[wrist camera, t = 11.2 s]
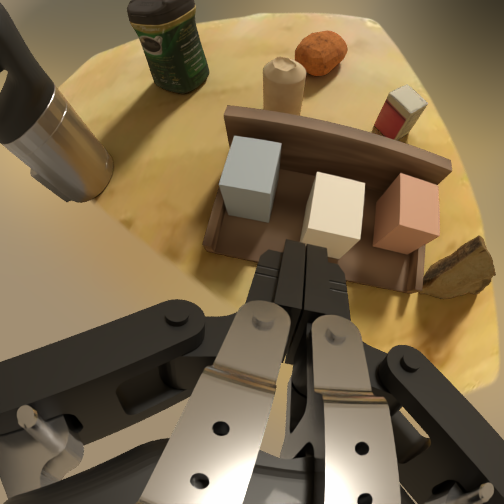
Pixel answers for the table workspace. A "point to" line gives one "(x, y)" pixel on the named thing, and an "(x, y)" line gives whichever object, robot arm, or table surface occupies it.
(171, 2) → the coffee jar
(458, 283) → the rock
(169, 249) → the table surface
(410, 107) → the small box
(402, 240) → the key terracotta
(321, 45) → the potato
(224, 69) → the table surface
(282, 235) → the tray
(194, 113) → the table surface
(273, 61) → the candle
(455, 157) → the table surface
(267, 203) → the grey blue block
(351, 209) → the cream rectangular block
